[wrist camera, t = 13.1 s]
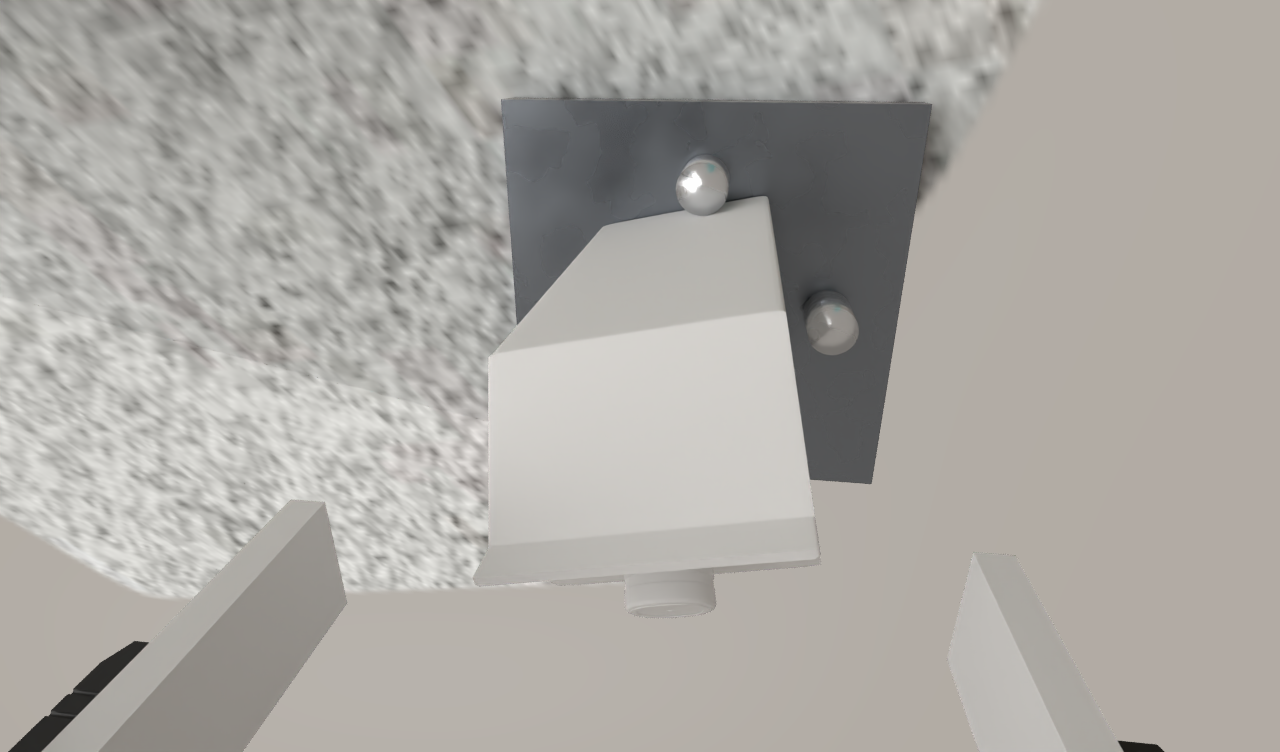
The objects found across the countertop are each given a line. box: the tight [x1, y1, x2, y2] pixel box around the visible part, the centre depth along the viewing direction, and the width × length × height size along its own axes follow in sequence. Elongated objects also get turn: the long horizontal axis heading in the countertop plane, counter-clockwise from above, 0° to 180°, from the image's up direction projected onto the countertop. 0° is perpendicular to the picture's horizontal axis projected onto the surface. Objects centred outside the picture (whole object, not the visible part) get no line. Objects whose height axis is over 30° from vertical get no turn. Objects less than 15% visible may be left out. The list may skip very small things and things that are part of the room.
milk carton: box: [473, 196, 821, 618], centre depth 23 cm, size 7×7×19 cm
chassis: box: [501, 98, 932, 484], centre depth 31 cm, size 17×17×4 cm
